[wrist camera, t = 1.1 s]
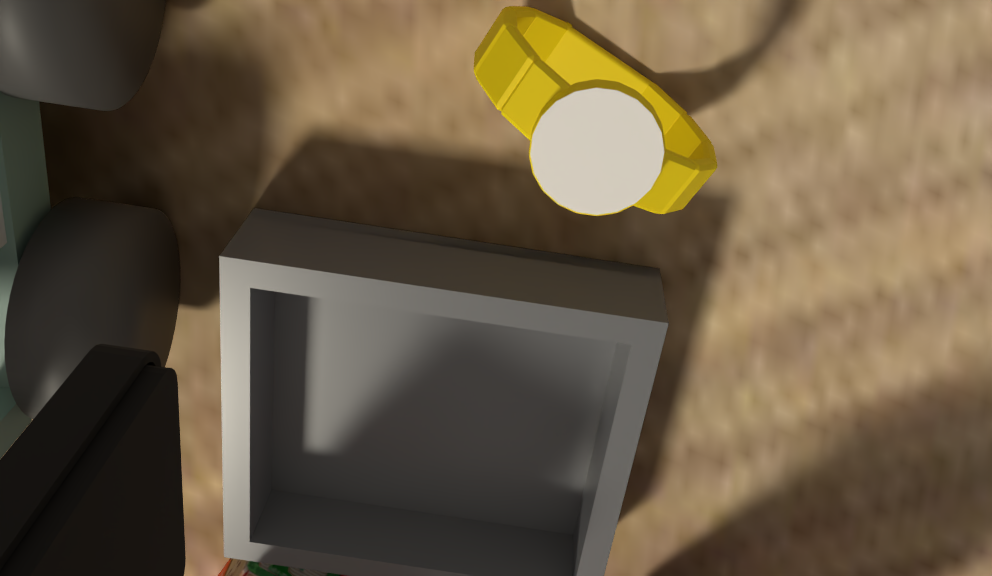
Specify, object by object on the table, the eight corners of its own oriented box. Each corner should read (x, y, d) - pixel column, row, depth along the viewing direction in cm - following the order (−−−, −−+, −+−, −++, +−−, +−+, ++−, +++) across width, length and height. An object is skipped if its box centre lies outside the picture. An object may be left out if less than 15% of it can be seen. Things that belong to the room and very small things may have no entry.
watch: (474, 55, 25) (429, 121, 19) (534, -38, 23) (503, 5, 18) (660, 183, 25) (665, 279, 20) (727, 100, 24) (752, 180, 19)
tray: (659, 268, 27) (668, 323, 24) (592, 543, 32) (594, 612, 29) (254, 208, 27) (219, 255, 24) (252, 492, 32) (223, 557, 29)
